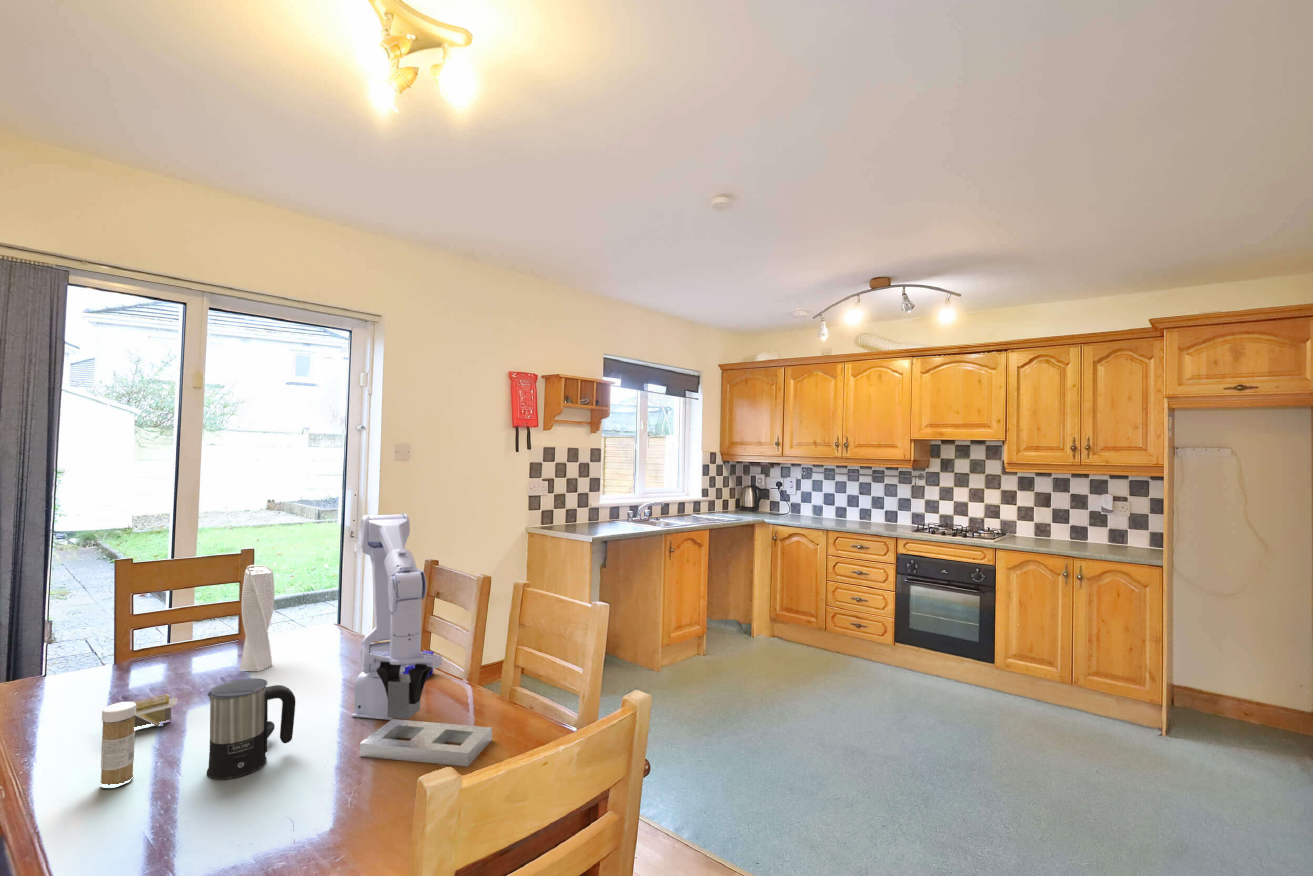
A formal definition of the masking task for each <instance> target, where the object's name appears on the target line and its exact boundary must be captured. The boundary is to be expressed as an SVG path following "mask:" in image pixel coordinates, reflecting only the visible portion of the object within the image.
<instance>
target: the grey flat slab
mask: <svg viewBox="0 0 1313 876" xmlns="http://www.w3.org/2000/svg"><path fill="white" fill-rule="evenodd" d="M397 738H398V739H397ZM400 739H401V740H400ZM402 739H410V740H402ZM492 740H493V727H490V726H489V727H488V726H478V725H468V724H467V725H464V724H455V723H454V724H453V723H442V722H430V721H420V720H409V719H399V718H393V719H391V720H389V721H388V722H386V723H385V724H384V725H383V726H381V727H379V728H378V729H377V730H376V731H373V733H371V734H370V735H368V736H367V737H366V738H365V739H363V740H362V741H361V742H360V743H359V757H364V758H375V759H385V760H394V761H395V760H397V761H405V762H417V763H427V764H435V763H436V764H437V765H447V766H448V765H449V766H458V767H469V766H470V765H471V764H472V763H473V762H474V760H475V759H476V758H477V757H478V756H479V755H480V754H481V753H482V752H483V751H484V750H485V748H486V747H487V746H488V745H489V744H490V743H491V742H492ZM447 743H454V744H447ZM455 744H456V745H455ZM457 744H460V745H457Z"/></svg>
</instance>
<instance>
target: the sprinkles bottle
mask: <svg viewBox="0 0 1313 876" xmlns="http://www.w3.org/2000/svg"><path fill="white" fill-rule="evenodd" d="M134 702H135V701H122V702H121V701H120V702H117V703H113V704H110V705H108V706H105V707H104V708H103V709H102V711H101V721H102V736H101V739H102V740H101V751H100V752H101V753H100V769H101V772H100V773H101V774H100V783H102V784H108V785H110V784H119V783H124V782H125V781H128V780H130V779H131V778H132V777H133V776H134V761H135V741H136V740H135V736H136V735H135V734H136V731H134V727H135V725H134V721H135V716H136V715H135V714H136V706H137V704H136V703H137V702H135V703H134ZM133 778H134V777H133Z"/></svg>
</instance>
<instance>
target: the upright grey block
mask: <svg viewBox="0 0 1313 876" xmlns="http://www.w3.org/2000/svg"><path fill="white" fill-rule="evenodd" d="M420 710H421V700H420V701H419V702H417V703H416V704H412V702H411V681H410V676H409V674H399V675H398V676H396V677H394V678H393V679H391V680H390V681H388V712H387V717H389V718H393V719H400V720H409V719H411V717H413V716H414V715H415V714H417V713H418V712H419V711H420Z"/></svg>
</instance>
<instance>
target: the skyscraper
mask: <svg viewBox="0 0 1313 876" xmlns="http://www.w3.org/2000/svg"><path fill="white" fill-rule="evenodd" d="M240 605H241V619H242V625H243V631H244V636H245V637H244V643H243V649H242V655H241V661H240V666H239V671H240V670H247V671H260V670H261V671H263V670H265V669H267V668H268V667H267V666H269V665H271V666H273V659H272V653H271V652H272V650H271V645H270V637H269V632H268V630H269V628H270V625H271V620H272V617H273V612H274V605H275V580H274V571H273V570H272V568H270V567H269V566H267V565H265V564H250V565H248V566H246V569H245V571H244V577H243V583H242V592H241V604H240ZM266 667H267V668H266ZM269 667H270V666H269ZM264 668H265V669H264ZM262 669H263V670H262ZM261 671H260V672H261Z"/></svg>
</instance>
